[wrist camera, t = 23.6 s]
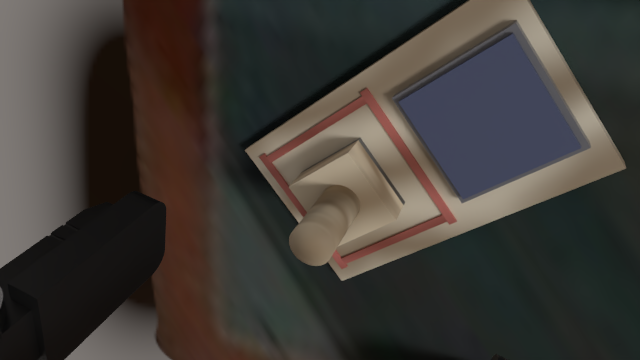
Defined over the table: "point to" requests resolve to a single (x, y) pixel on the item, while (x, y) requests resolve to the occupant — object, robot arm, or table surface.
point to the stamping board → (409, 153)
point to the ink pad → (491, 115)
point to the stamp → (341, 202)
